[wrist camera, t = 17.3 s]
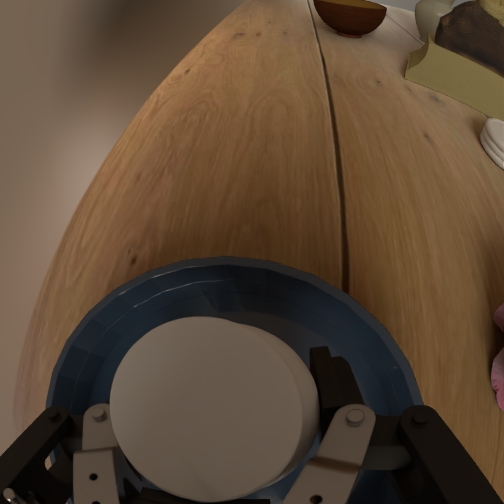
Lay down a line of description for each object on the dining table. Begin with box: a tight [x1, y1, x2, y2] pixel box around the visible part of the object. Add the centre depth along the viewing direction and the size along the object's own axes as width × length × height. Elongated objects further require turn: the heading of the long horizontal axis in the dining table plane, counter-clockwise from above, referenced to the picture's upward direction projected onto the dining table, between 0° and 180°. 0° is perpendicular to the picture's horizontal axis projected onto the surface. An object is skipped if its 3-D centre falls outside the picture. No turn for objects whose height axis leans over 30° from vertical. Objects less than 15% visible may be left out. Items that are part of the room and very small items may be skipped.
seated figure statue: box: [405, 0, 504, 122], centre depth 22 cm, size 28×13×30 cm, turn 61°
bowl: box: [313, 0, 387, 38], centre depth 47 cm, size 18×18×10 cm
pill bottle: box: [110, 317, 320, 502], centre depth 10 cm, size 6×6×11 cm
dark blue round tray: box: [46, 256, 424, 504], centre depth 14 cm, size 23×23×5 cm
